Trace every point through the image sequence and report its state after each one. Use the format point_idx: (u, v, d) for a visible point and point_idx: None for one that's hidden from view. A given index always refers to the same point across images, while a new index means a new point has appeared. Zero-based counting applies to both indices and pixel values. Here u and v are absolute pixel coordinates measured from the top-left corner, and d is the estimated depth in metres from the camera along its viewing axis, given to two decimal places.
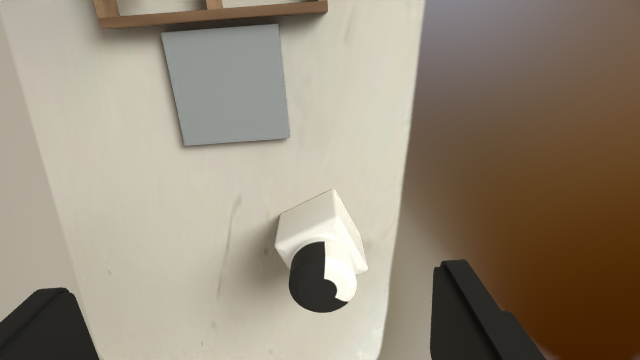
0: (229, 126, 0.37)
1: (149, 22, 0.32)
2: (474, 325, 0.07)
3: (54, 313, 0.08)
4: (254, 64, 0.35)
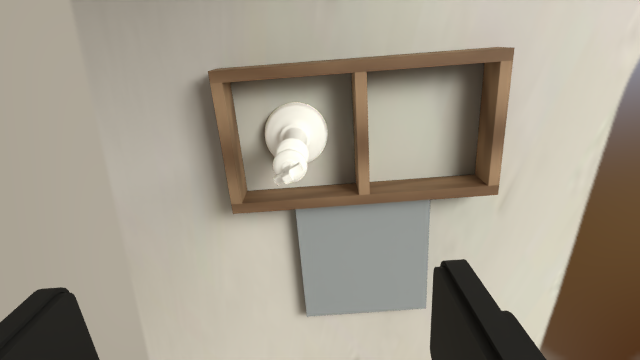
0: (360, 297, 0.33)
1: (290, 207, 0.28)
2: (474, 325, 0.07)
3: (54, 313, 0.08)
4: (397, 238, 0.31)
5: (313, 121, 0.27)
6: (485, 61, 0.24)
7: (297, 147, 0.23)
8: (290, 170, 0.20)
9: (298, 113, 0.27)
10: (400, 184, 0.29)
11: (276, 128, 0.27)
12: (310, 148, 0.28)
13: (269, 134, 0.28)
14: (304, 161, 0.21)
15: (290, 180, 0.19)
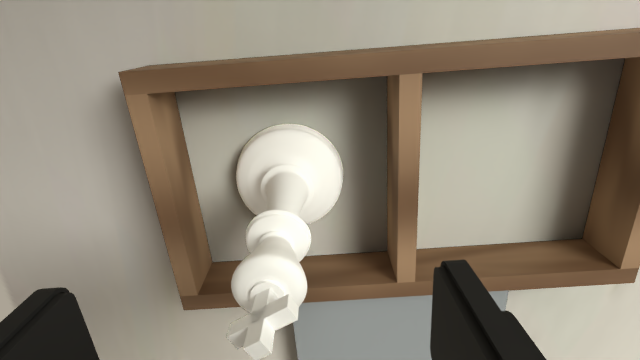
0: None
1: None
2: (474, 325, 0.07)
3: (54, 313, 0.08)
4: None
5: (319, 158, 0.16)
6: None
7: (288, 229, 0.11)
8: (266, 319, 0.08)
9: (293, 145, 0.15)
10: (463, 258, 0.18)
11: (255, 169, 0.16)
12: (314, 202, 0.16)
13: (243, 179, 0.16)
14: (301, 279, 0.09)
15: (264, 353, 0.08)
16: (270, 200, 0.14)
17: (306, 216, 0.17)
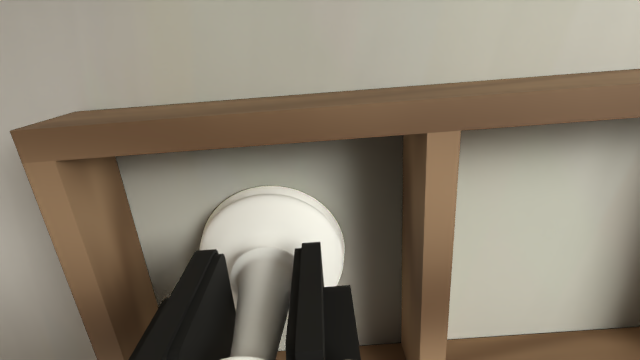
0: None
1: None
2: (296, 293, 0.08)
3: (218, 269, 0.10)
4: None
5: (311, 235, 0.11)
6: None
7: None
8: None
9: (275, 218, 0.11)
10: (502, 357, 0.13)
11: (224, 250, 0.11)
12: None
13: None
14: None
15: None
16: (239, 311, 0.09)
17: None
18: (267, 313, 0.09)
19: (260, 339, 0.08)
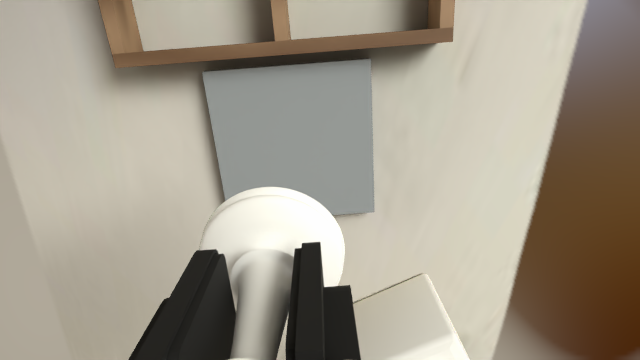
0: None
1: (188, 59, 0.22)
2: (296, 293, 0.08)
3: (218, 269, 0.10)
4: (333, 115, 0.25)
5: (311, 236, 0.11)
6: None
7: None
8: None
9: (275, 219, 0.11)
10: None
11: (223, 251, 0.11)
12: None
13: None
14: None
15: None
16: (239, 313, 0.09)
17: None
18: (267, 314, 0.09)
19: (260, 341, 0.08)
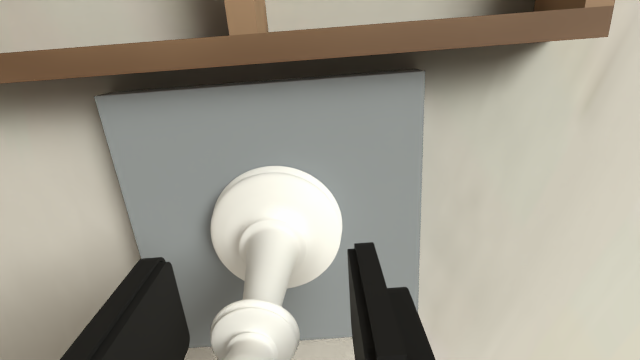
0: None
1: (47, 74, 0.10)
2: (360, 295, 0.08)
3: (160, 278, 0.09)
4: (348, 175, 0.13)
5: (312, 209, 0.13)
6: None
7: (267, 327, 0.08)
8: None
9: (279, 194, 0.12)
10: None
11: (233, 223, 0.13)
12: (306, 262, 0.13)
13: (219, 234, 0.13)
14: None
15: None
16: (248, 271, 0.10)
17: (297, 277, 0.14)
18: (273, 272, 0.10)
19: (267, 291, 0.10)
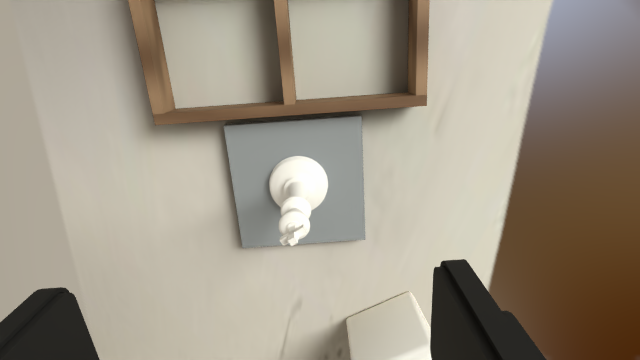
0: None
1: (214, 118, 0.27)
2: (474, 325, 0.07)
3: (54, 313, 0.08)
4: (330, 160, 0.30)
5: (314, 174, 0.29)
6: None
7: (300, 205, 0.25)
8: (295, 232, 0.22)
9: (301, 167, 0.29)
10: (329, 99, 0.28)
11: (280, 180, 0.29)
12: (311, 198, 0.30)
13: (274, 185, 0.30)
14: (307, 221, 0.23)
15: (295, 242, 0.21)
16: (290, 194, 0.27)
17: None
18: (300, 194, 0.27)
19: None
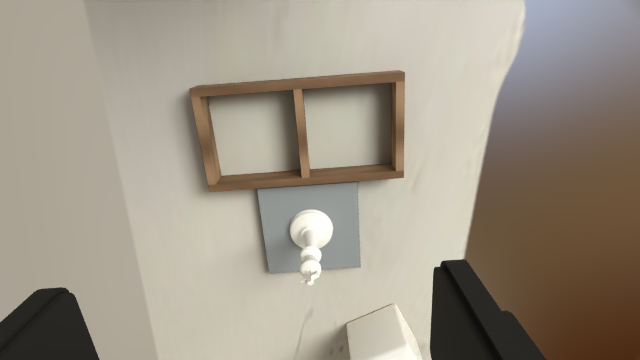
0: None
1: (251, 187, 0.38)
2: (474, 325, 0.07)
3: (54, 313, 0.08)
4: (334, 212, 0.41)
5: (323, 223, 0.40)
6: (385, 81, 0.34)
7: (314, 252, 0.36)
8: (311, 276, 0.33)
9: (313, 218, 0.40)
10: (334, 170, 0.39)
11: (298, 227, 0.40)
12: (321, 240, 0.41)
13: (293, 231, 0.41)
14: (319, 267, 0.34)
15: (312, 283, 0.32)
16: (306, 241, 0.38)
17: (318, 245, 0.41)
18: (313, 241, 0.38)
19: (312, 245, 0.37)
